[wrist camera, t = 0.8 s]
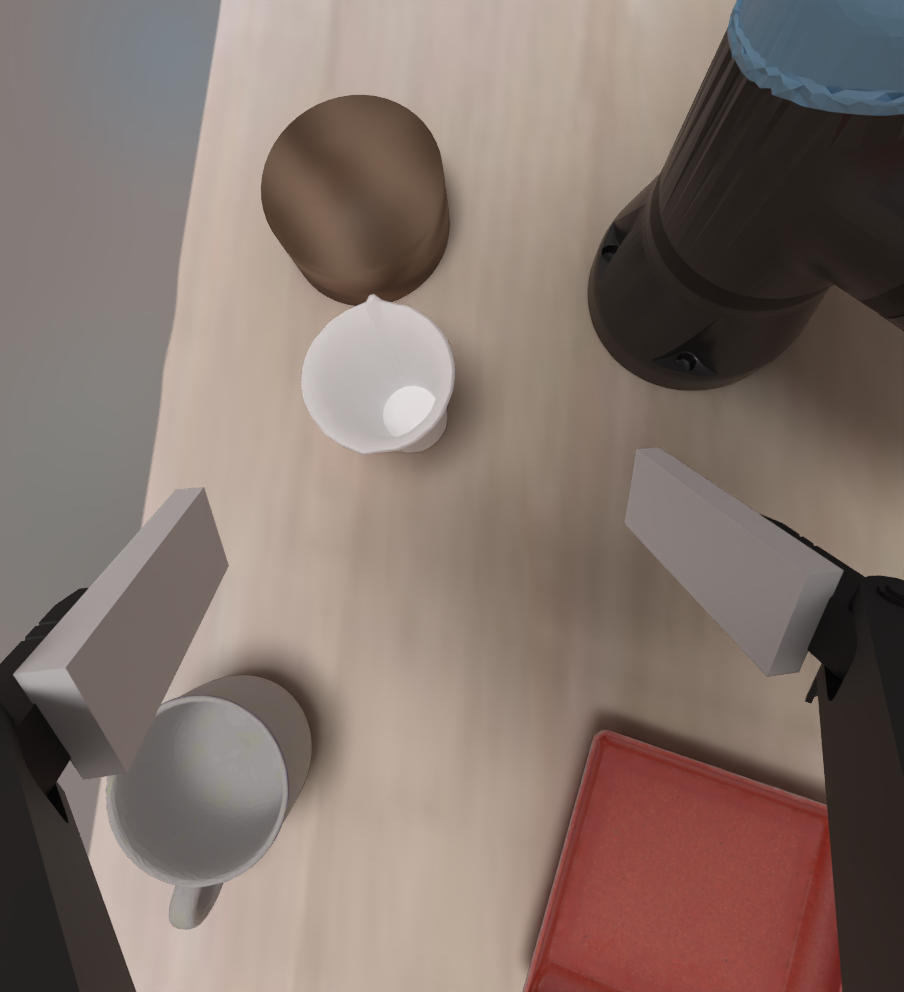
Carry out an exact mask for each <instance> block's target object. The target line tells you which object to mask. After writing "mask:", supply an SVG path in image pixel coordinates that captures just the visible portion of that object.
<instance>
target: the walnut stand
mask: <svg viewBox="0 0 904 992" xmlns="http://www.w3.org/2000/svg"><path fill="white" fill-rule="evenodd" d="M261 199H262V205H263V210H264V213H265V216H266V220H267V222H268V224H269V226H270V228H271V230H272V232H273V233H274V235H275V236H276V238H277V239H278V240H279V242H280V243H281V245H282V246H283V247H284V249H285V250H286V251H287V253H288V254H289V256H290V257H291V258H292V260H293V261H294V263H295V264H296V265H297V267H298V268H299V269H300V271H301V272H302V274H303V275H304V276H305V278H306V279H307V280H308V281H309V282H310V283H311V285H312V286H313V287H315V288H316V289H317V290H318V291H319V292H321V293H322V294H324V295H326V296H327V297H329V298H331V299H333V300H336V301H338V302H341V303H345V304H348V305H355V306H357V305H359V304H362V303H364V302H366V301H367V299H368V297H369V296H370V295H373V294H375V295H376V296H377V297H379V298H380V299H382V300H384V301H388V302H392V301H395V300H397V299H400V298H402V297H404V296H405V295H407V294H409V293H411V292H412V291H413V290H415V289H416V288H418V287H419V286H420V285H421V284H422V283H423V282H424V281H426V280H427V278H428V277H429V276H430V275H431V274H432V273H433V271H434V270H435V268H436V267H437V265H438V264H439V262H440V260H441V258H442V256H443V254H444V251H445V248H446V245H447V241H448V236H449V226H450V222H449V211H448V203H447V195H446V188H445V180H444V172H443V165H442V160H441V155H440V151H439V148H438V146H437V143H436V141H435V139H434V137H433V135H432V133H431V132H430V130H429V129H428V128H427V126H426V125H425V124H424V123H423V122H422V121H421V120H420V119H419V118H418V117H417V116H416V115H415V114H414V113H413V112H411V111H410V110H409V109H407V108H405V107H404V106H402V105H400V104H398V103H396V102H393V101H391V100H388V99H385V98H381V97H377V96H369V95H350V96H343V97H338V98H334V99H331V100H328V101H325V102H323V103H320V104H318V105H316V106H314V107H312V108H310V109H309V110H307V111H305V112H304V113H303V114H301V115H300V116H298V117H297V118H296V119H295V120H294V121H293V122H292V123H290V124H289V125H288V126H287V128H286V129H285V130H284V131H283V132H282V133H281V135H280V136H279V137H278V139H277V140H276V142H275V143H274V145H273V147H272V149H271V151H270V153H269V155H268V158H267V160H266V163H265V166H264V170H263V175H262V183H261Z"/></svg>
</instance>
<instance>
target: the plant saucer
mask: <svg viewBox="0 0 904 992" xmlns="http://www.w3.org/2000/svg"><path fill="white" fill-rule="evenodd" d="M523 992H842V982H841V969H840V957H839V945H838V933H837V921H836V908H835V896H834V884H833V872H832V860H831V848H830V835H829V823H828V811H827V804H824V803H821V802H818V801H815V800H812V799H809V798H806V797H803V796H800V795H797V794H794V793H791V792H788V791H785V790H782V789H780V788H777V787H774V786H771V785H768V784H764V783H762V782H759V781H756V780H753V779H750V778H747V777H744V776H741V775H739V774H736V773H733V772H730V771H727V770H724V769H722V768H719V767H716V766H713V765H710V764H707V763H704V762H701V761H698V760H695V759H692V758H689V757H686V756H683V755H680V754H677V753H674V752H672V751H669V750H666V749H663V748H660V747H657V746H654V745H651V744H648V743H645V742H643V741H640V740H637V739H634V738H631V737H628V736H625V735H622V734H619V733H616V732H613V731H610V730H600V731H598V732H597V733H596V734H595V735H594V737H593V740H592V743H591V746H590V750H589V754H588V757H587V761H586V765H585V769H584V773H583V776H582V780H581V783H580V787H579V791H578V794H577V798H576V801H575V805H574V808H573V812H572V816H571V819H570V823H569V827H568V830H567V834H566V838H565V841H564V845H563V848H562V852H561V856H560V859H559V863H558V867H557V870H556V874H555V878H554V881H553V885H552V889H551V893H550V896H549V900H548V903H547V907H546V910H545V914H544V918H543V921H542V925H541V928H540V932H539V935H538V939H537V942H536V946H535V949H534V953H533V956H532V960H531V964H530V967H529V971H528V974H527V978H526V981H525V984H524V988H523Z"/></svg>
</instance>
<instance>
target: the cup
mask: <svg viewBox="0 0 904 992" xmlns="http://www.w3.org/2000/svg"><path fill="white" fill-rule="evenodd" d="M301 381H302V393H303V398H304V403H305V405H306V407H307V409H308V411H309V413H310V415H311V417H312V418H313V420H314V421H315V422H316V424H317V425H318V426H319V428H320V429H321V430H322V432H323V433H324V434H325V435H326V436H328V437H329V438H331V439H332V440H333V441H335V442H336V443H338V444H339V445H340V446H342V447H344V448H346V449H349V450H352V451H355V452H357V453H360V454H363V455H368V454H376V453H384V452H392V451H401V452H405V453H413V452H421V451H424V450H426V449H427V448H429V447H431V446H432V445H433V444H435V443H436V442H437V441H438V440H439V439H440V438H441V436H442V434H443V432H444V431H445V429H446V424H447V410H446V408H447V406H448V403H449V400H450V398H451V395H452V393H453V389H454V381H455V362H454V355H453V352H452V349H451V346H450V343H449V341H448V340H447V338H446V337H445V335H444V333H443V332H442V331H441V330H440V329H439V327H438V326H437V325H436V324H435V323H434V322H433V321H432V320H431V319H430V318H429V317H427V316H425V315H424V314H422V313H421V312H419V311H418V310H416V309H415V308H413V307H411V306H407V305H402V304H398V303H393V302H388V301H384V300H382V299H380V298H379V297H377V296H376V295H375V294H373V295H370V296H369V297H368V299H367V301H366V302H364V303H362V304H359V305H357V306H355V307H352V308H350V309H348V310H346V311H345V312H343V313H341V314H340V315H338V316H337V317H335V318H334V319H332V320H331V321H330V322H329V323H328V324H327V325H326V326H325V327H324V329H323V330H322V331H321V332H320V333H319V334H318V335H317V337H316V338H315V339H314V340H313V342H312V344H311V346H310V348H309V350H308V352H307V354H306V357H305V361H304V364H303V370H302V376H301Z"/></svg>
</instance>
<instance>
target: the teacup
mask: <svg viewBox="0 0 904 992" xmlns="http://www.w3.org/2000/svg"><path fill="white" fill-rule="evenodd" d="M311 754H312V741H311V733H310V728H309V725H308V722H307V719H306V716H305V714H304V712H303V710H302V709H301V707H300V705H299V704H298V702H297V701H296V700H295V699H294V697H293V696H292V695H291V694H290V693H289V692H287V691H286V690H285V689H284V688H282V687H281V686H279V685H278V684H276V683H274V682H272V681H270V680H267V679H264V678H261V677H257V676H250V675H236V676H228V677H224V678H220V679H217V680H214V681H211V682H208V683H206V684H204V685H202V686H199V687H197V688H195V689H193V690H191V691H189V692H187V693H185V694H184V695H182V696H180V697H178V698H175V699H172V700H169V701H167V702H165V703H163V704H161V705H160V707H159V709H158V711H157V713H156V715H155V717H154V719H153V721H152V723H151V725H150V727H149V729H148V731H147V734H146V736H145V738H144V740H143V742H142V744H141V746H140V748H139V750H138V752H137V754H136V756H135V758H134V760H133V762H132V764H131V766H130V768H129V770H128V772H127V773H124V774H117V775H111V776H108V777H107V787H106V794H107V798H106V799H107V812H108V817H109V823H110V826H111V829H112V831H113V833H114V835H115V837H116V840H117V842H118V843H119V845H120V847H121V848H122V850H123V851H124V853H125V854H126V855H127V857H128V858H130V859H131V860H132V862H133V863H134V864H135V865H136V866H137V867H139V868H140V869H141V870H143V871H144V872H146V873H147V874H149V875H151V876H153V877H155V878H157V879H159V880H162V881H164V882H166V883H169V884H173V885H176V886H175V889H174V892H173V895H172V899H171V902H170V908H169V920H170V923H171V924H172V926H174V927H176V928H178V929H185V930H188V929H192V928H195V927H197V926H198V925H200V924H201V923H202V922H203V920H204V919H205V918H206V917H207V915H208V914H209V912H210V910H211V909H212V907H213V905H214V903H215V901H216V899H217V897H218V895H219V893H220V890H221V888H222V885H223V882H226V881H229V880H231V879H233V878H235V877H237V876H239V875H241V874H242V873H244V872H245V871H246V870H248V869H249V868H251V867H252V866H253V865H255V864H256V863H257V862H258V861H259V860H260V859H261V858H262V856H263V855H264V854H265V853H266V852H267V850H268V849H269V848H270V846H271V845H272V844H273V842H274V841H275V839H276V837H277V835H278V833H279V831H280V828H281V826H282V824H283V822H284V820H285V819H286V817H287V815H288V814H289V812H290V810H291V809H292V807H293V805H294V803H295V801H296V799H297V798H298V796H299V794H300V792H301V789H302V787H303V785H304V783H305V780H306V777H307V774H308V771H309V767H310V761H311Z"/></svg>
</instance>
